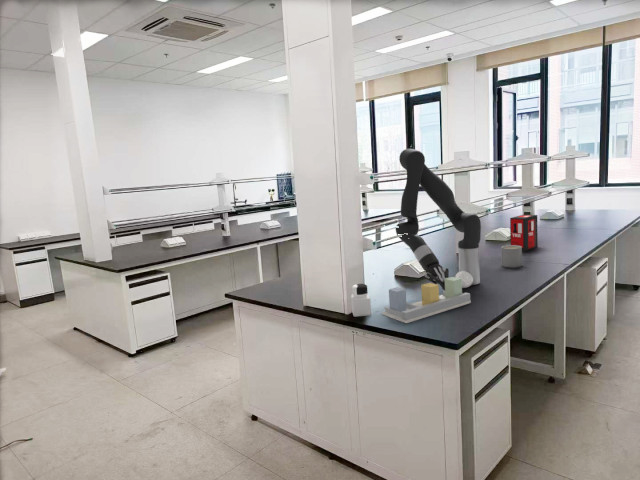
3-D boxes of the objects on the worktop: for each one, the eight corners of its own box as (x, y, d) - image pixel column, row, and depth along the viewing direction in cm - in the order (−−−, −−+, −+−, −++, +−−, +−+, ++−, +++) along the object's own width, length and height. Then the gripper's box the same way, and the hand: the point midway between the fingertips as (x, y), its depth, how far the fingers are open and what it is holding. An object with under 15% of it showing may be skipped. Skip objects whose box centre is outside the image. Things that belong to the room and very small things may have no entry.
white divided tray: (382, 314, 181) (381, 304, 180) (445, 296, 198) (444, 287, 198) (406, 323, 169) (405, 313, 169) (470, 302, 187) (470, 293, 186)
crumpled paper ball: (460, 290, 205) (460, 274, 204) (451, 286, 212) (451, 270, 211) (476, 288, 207) (475, 271, 206) (466, 284, 214) (466, 268, 213)
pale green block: (445, 299, 189) (444, 278, 188) (453, 297, 192) (452, 276, 190) (454, 302, 185) (453, 280, 184) (462, 299, 187) (461, 278, 186)
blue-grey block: (389, 311, 180) (388, 289, 179) (398, 308, 183) (397, 287, 181) (398, 314, 176) (396, 291, 175) (406, 311, 178) (405, 289, 177)
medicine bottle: (369, 309, 188) (367, 281, 186) (371, 315, 181) (369, 286, 179) (351, 311, 188) (349, 283, 186) (353, 316, 181) (351, 287, 179)
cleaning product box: (524, 251, 274) (524, 218, 271) (510, 249, 281) (510, 218, 278) (537, 246, 285) (537, 215, 282) (523, 245, 292) (523, 214, 288)
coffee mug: (516, 268, 236) (516, 249, 235) (498, 266, 244) (498, 247, 242) (528, 263, 245) (528, 244, 243) (510, 261, 252) (510, 243, 251)
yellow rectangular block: (422, 306, 183) (421, 284, 181) (430, 304, 185) (429, 282, 184) (431, 309, 179) (430, 287, 177) (439, 306, 181) (438, 284, 179)
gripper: (418, 255, 193) (441, 288, 184) (441, 250, 199) (463, 282, 191) (410, 265, 198) (432, 298, 190) (433, 260, 205) (454, 291, 196)
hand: (447, 290), depth 190 cm, fingers closed
